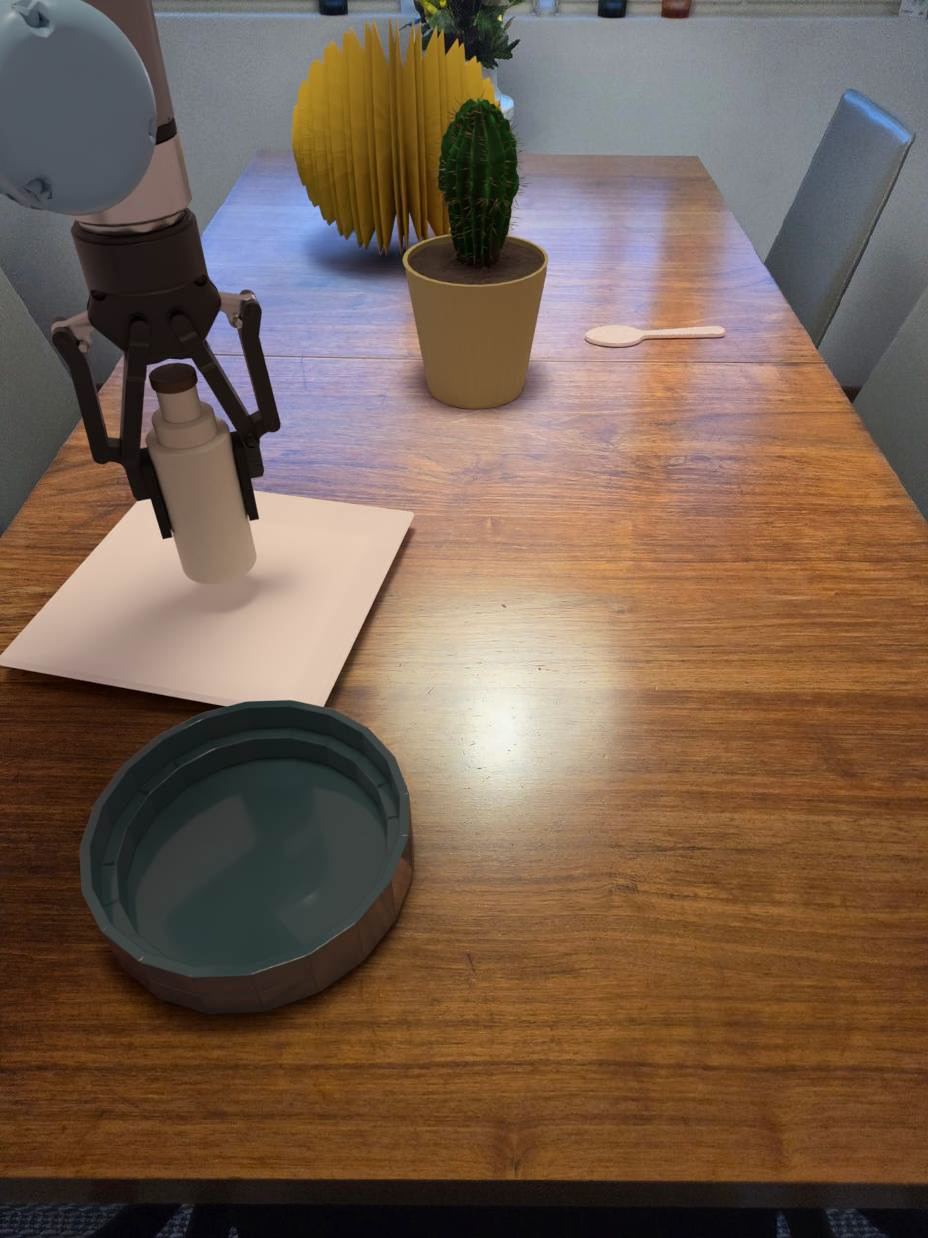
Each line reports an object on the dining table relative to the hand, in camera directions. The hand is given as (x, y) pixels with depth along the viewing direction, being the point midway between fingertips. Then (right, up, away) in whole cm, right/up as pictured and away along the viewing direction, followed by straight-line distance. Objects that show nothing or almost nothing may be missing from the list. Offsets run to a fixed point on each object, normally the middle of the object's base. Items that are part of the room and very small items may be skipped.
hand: (209, 519), depth 69 cm
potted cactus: (+22, +19, +33) cm, 44 cm away
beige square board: (0, -6, +6) cm, 8 cm away
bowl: (+7, -24, -14) cm, 28 cm away
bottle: (0, -3, +3) cm, 4 cm away
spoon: (+45, +28, +42) cm, 68 cm away
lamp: (+11, +48, +65) cm, 82 cm away
